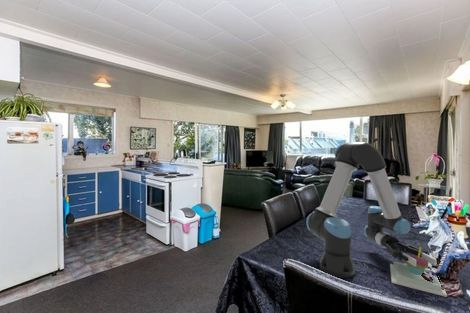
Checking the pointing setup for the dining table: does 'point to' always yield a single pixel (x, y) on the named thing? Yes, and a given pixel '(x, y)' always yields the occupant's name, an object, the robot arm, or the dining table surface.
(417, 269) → the cupcake
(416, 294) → the dining table surface
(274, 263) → the dining table surface
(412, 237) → the dining table surface
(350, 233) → the robot arm
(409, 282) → the pastry tray
